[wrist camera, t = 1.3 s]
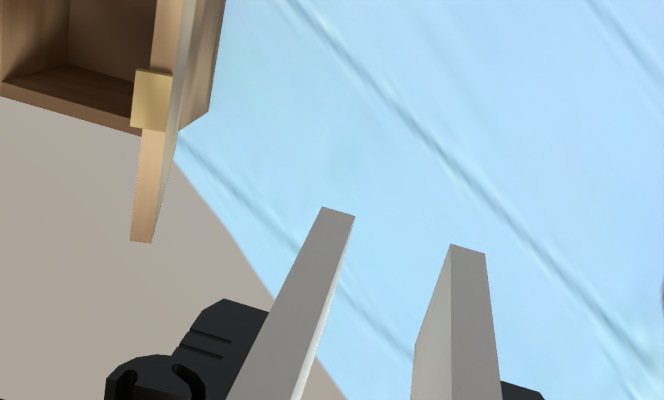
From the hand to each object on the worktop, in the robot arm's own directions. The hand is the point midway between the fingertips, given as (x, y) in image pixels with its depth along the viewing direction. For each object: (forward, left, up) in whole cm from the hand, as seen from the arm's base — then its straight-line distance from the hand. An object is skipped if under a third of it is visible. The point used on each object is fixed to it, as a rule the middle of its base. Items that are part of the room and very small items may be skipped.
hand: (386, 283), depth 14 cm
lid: (0, -11, -12) cm, 17 cm away
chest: (0, -18, -24) cm, 30 cm away
